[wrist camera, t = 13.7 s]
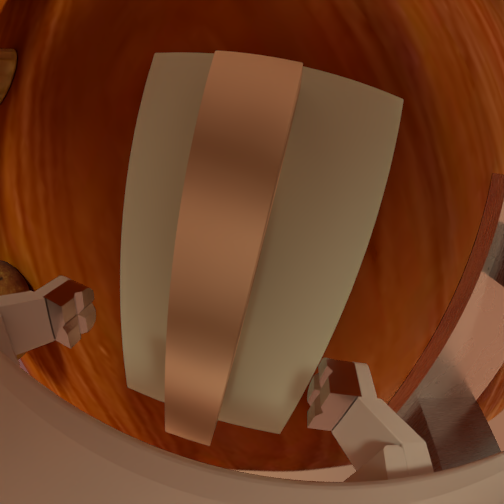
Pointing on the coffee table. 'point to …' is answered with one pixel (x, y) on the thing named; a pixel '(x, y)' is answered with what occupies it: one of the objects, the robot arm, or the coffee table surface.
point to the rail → (223, 229)
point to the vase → (6, 70)
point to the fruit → (11, 283)
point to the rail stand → (462, 354)
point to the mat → (276, 239)
